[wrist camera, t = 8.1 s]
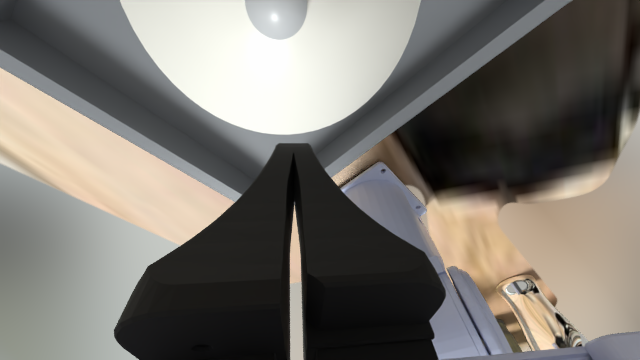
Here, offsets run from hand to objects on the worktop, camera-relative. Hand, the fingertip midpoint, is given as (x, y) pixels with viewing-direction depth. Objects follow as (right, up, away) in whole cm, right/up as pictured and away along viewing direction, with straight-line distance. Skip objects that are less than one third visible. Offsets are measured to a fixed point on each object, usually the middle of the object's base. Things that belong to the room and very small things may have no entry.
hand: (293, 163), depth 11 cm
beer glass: (+34, -18, +32) cm, 50 cm away
